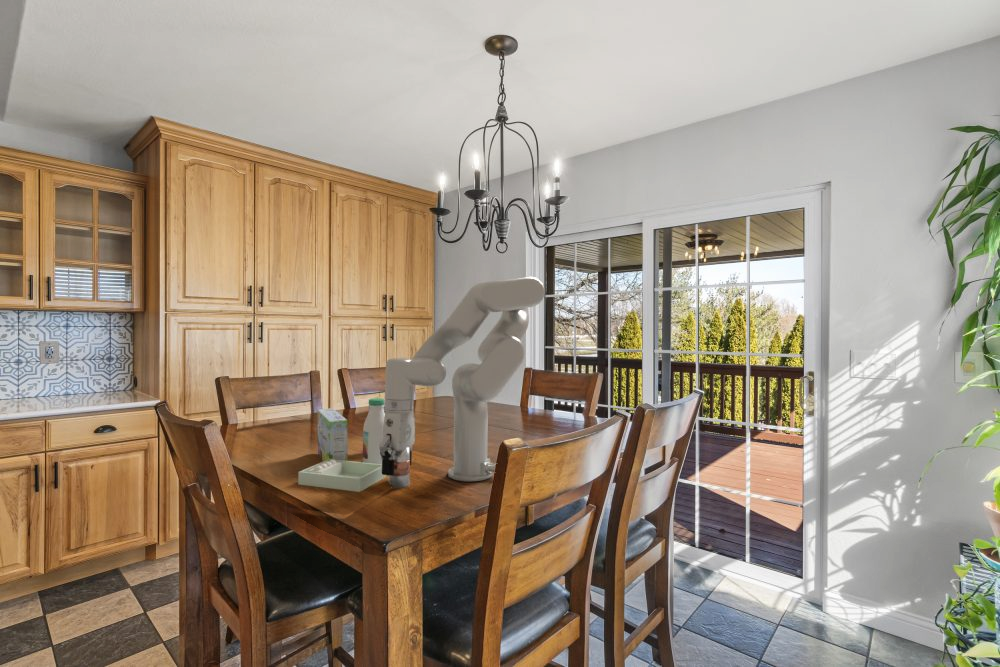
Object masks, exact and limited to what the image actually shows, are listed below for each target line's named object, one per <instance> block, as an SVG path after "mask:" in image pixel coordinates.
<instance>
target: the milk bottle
mask: <svg viewBox="0 0 1000 667" xmlns="http://www.w3.org/2000/svg"><path fill="white" fill-rule="evenodd" d="M384 404H385V398H380V397H378V398H377V397H374V398H370V399H368V414H367V416H366V418H365V421H364V424H363V430H362V431H363V432H362V462H363V463H373V464H382V459H381V455H380V448H379V445H380V443H381V442H382V437H383V424H384V417H385V413H384ZM369 408H370V409H369ZM388 452H389V451H388Z"/></svg>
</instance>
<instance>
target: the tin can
mask: <svg viewBox="0 0 1000 667" xmlns="http://www.w3.org/2000/svg"><path fill="white" fill-rule="evenodd" d="M392 448H393V447H392ZM390 453H391V451H389V454H390ZM393 460H394V475H392V476H389V475H388V484H389V485H392V486H391V487H392V488H391V489H404V488H403V487H405V488H407V486H408V487H409V486H410V469H411V468H410V467H411V465H410V447H408V448H406V449H404V450H402V451H397V450H396V452H395V454H394V457H393Z"/></svg>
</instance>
